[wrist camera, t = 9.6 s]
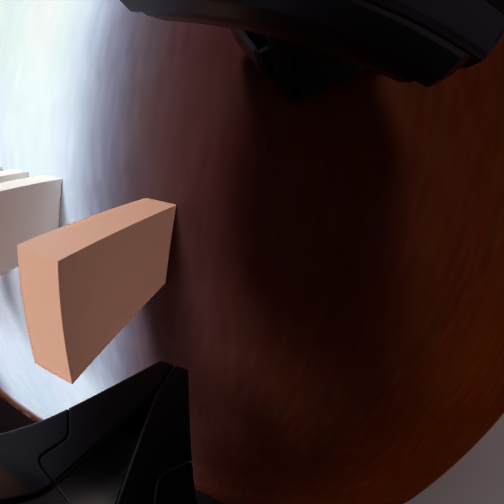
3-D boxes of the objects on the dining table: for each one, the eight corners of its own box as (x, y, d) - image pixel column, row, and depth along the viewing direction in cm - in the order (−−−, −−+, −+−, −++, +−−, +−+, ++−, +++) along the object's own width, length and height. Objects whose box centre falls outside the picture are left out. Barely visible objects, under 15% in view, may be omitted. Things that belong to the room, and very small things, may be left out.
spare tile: (176, 204, 17) (57, 261, 7) (165, 283, 18) (72, 384, 9) (145, 197, 17) (17, 244, 7) (137, 274, 19) (35, 363, 9)
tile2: (62, 178, 17) (-59, 206, 8) (58, 246, 19) (-46, 300, 9) (44, 174, 17) (-70, 200, 8) (41, 240, 19) (-60, 288, 9)
